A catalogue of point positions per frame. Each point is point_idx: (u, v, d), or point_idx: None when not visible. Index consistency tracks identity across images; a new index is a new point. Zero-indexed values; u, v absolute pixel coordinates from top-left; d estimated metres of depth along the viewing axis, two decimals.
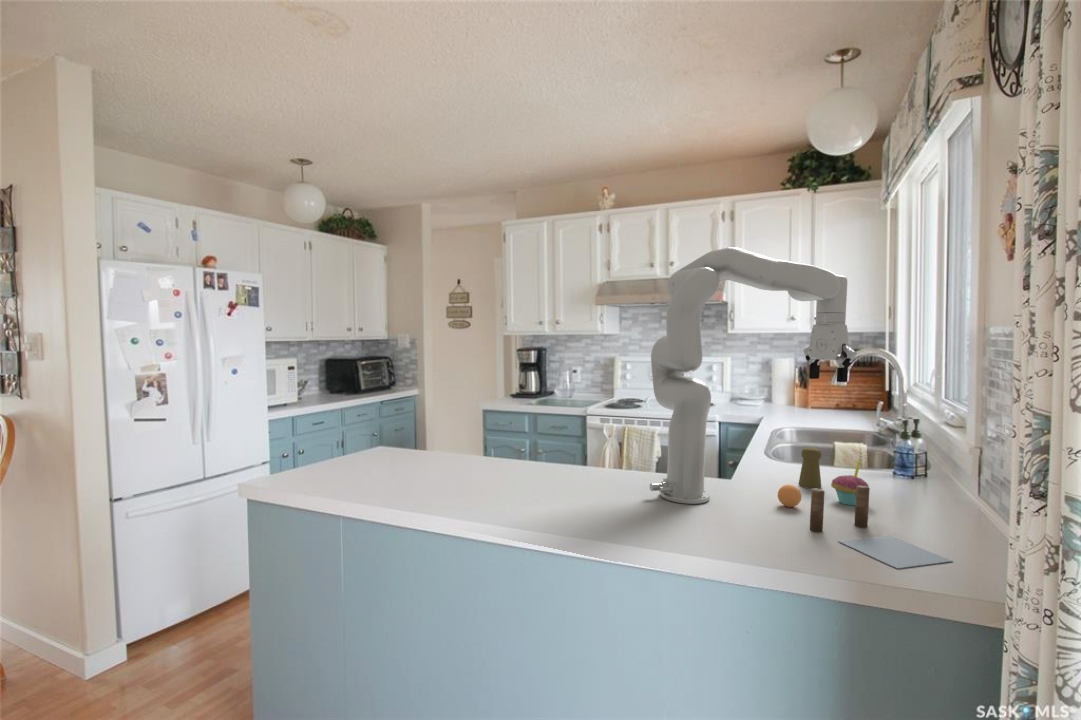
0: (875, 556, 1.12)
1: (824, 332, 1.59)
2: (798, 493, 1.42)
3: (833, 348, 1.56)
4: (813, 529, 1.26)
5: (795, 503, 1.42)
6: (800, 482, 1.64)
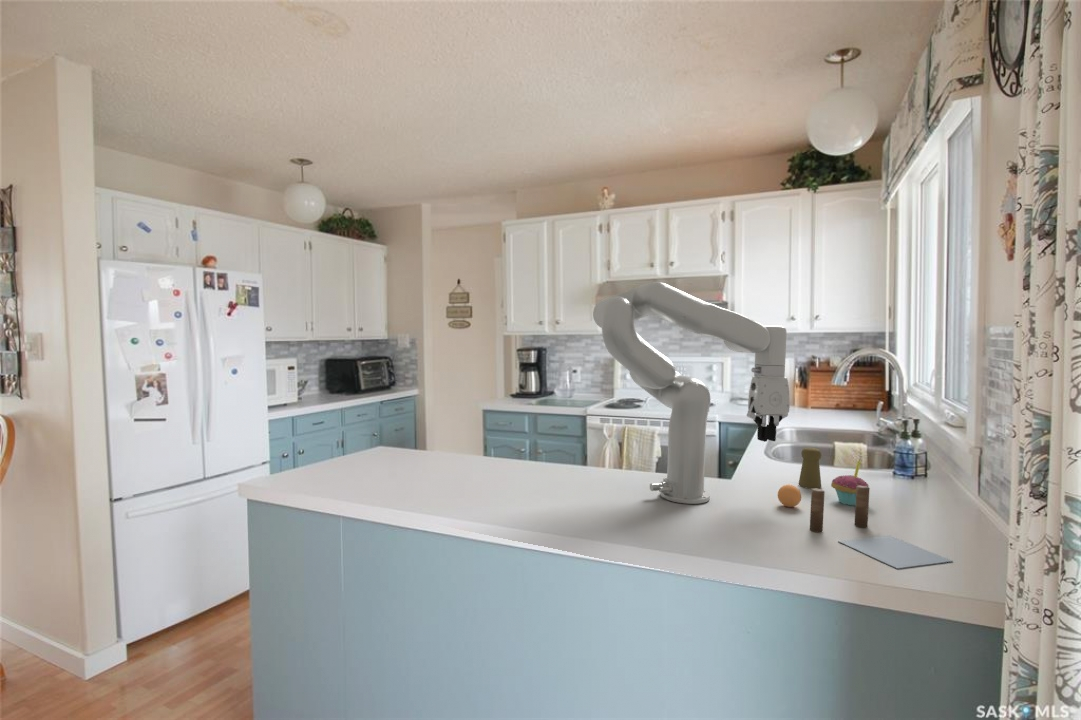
0: (875, 556, 1.12)
1: (778, 386, 1.49)
2: (798, 493, 1.42)
3: (787, 402, 1.51)
4: (813, 529, 1.26)
5: (795, 503, 1.42)
6: (800, 482, 1.64)
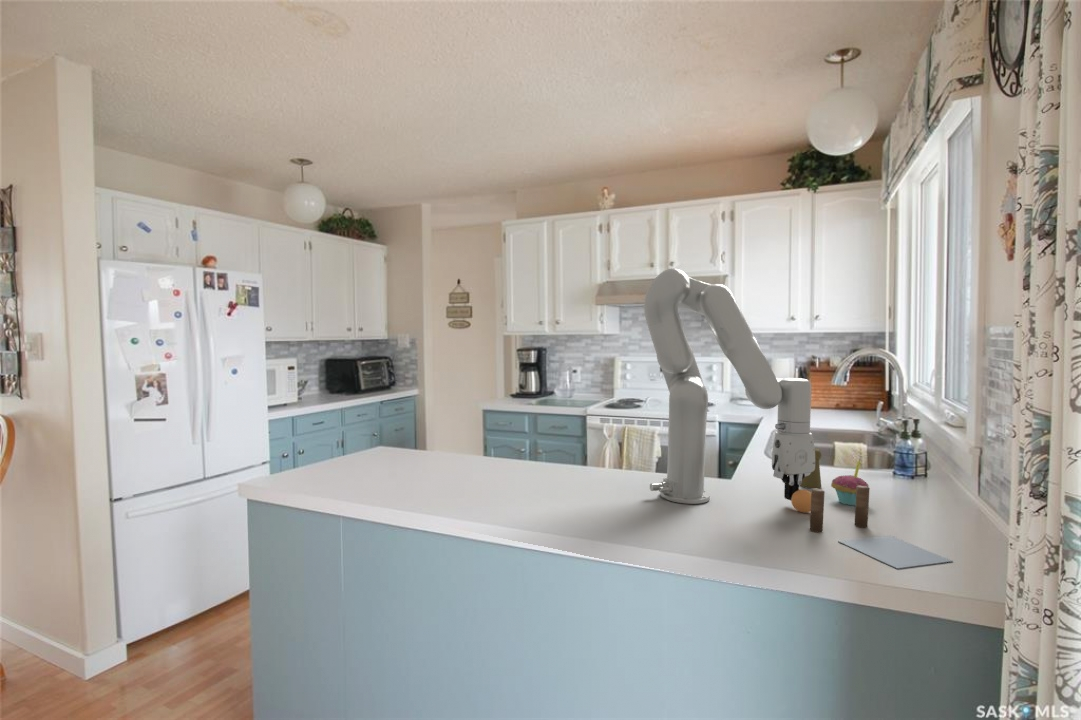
0: (875, 556, 1.12)
1: (804, 443, 1.41)
2: (809, 511, 1.39)
3: (813, 460, 1.43)
4: (813, 529, 1.26)
5: None
6: None
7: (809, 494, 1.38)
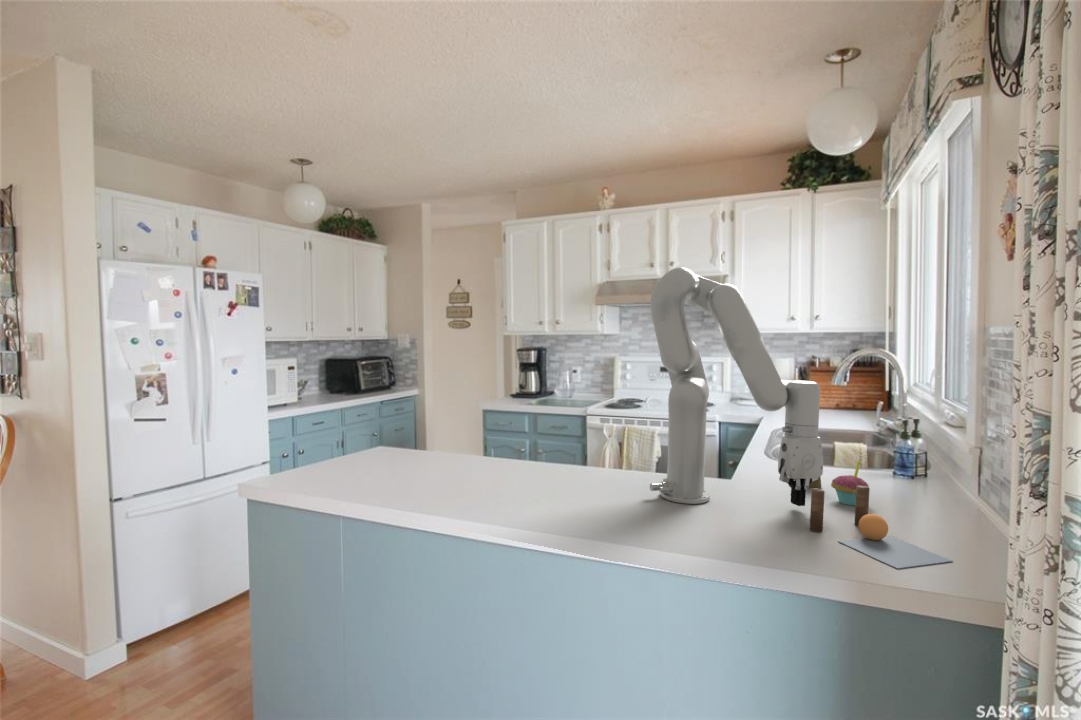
0: (875, 556, 1.12)
1: (811, 447, 1.38)
2: None
3: (821, 464, 1.40)
4: (813, 529, 1.26)
5: None
6: None
7: (884, 528, 1.20)
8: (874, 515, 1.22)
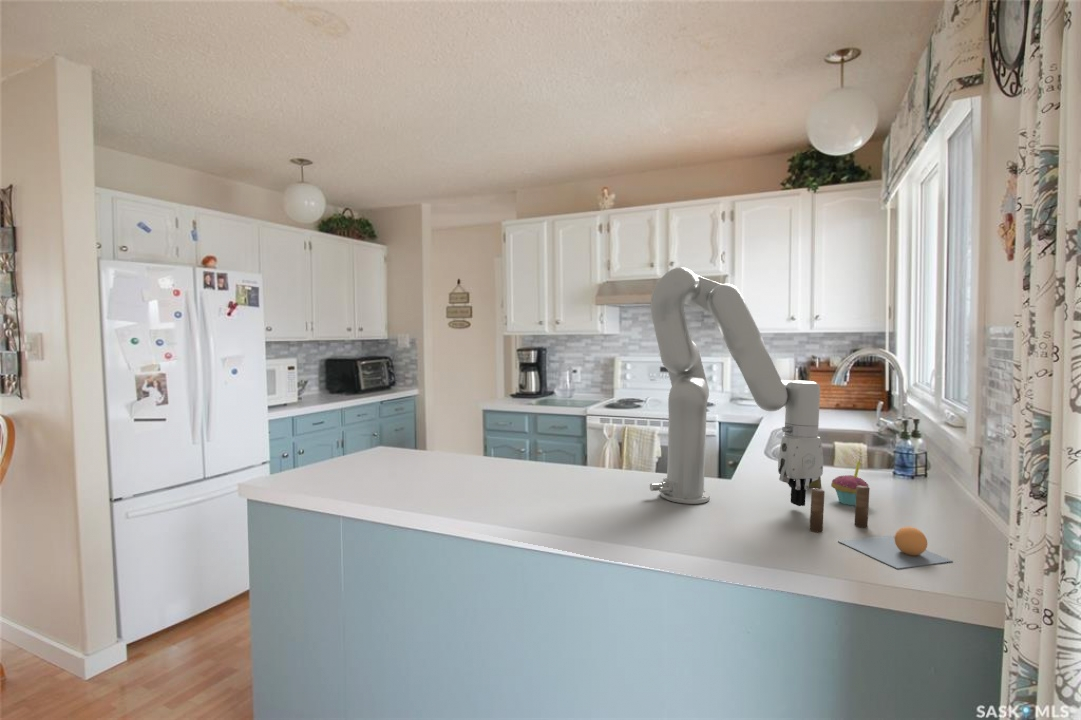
0: (875, 556, 1.12)
1: (811, 447, 1.38)
2: None
3: (821, 464, 1.40)
4: (813, 529, 1.26)
5: (920, 537, 1.12)
6: None
7: None
8: None
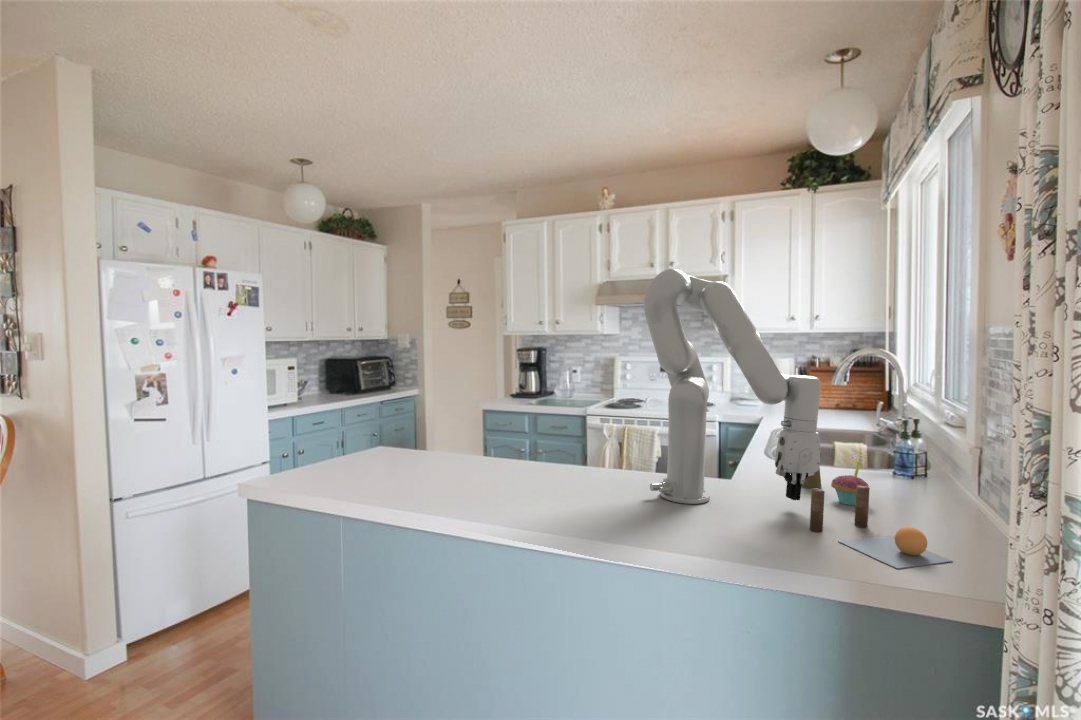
0: (875, 556, 1.12)
1: (809, 442, 1.38)
2: None
3: (818, 459, 1.40)
4: (813, 529, 1.26)
5: (920, 537, 1.12)
6: None
7: None
8: None
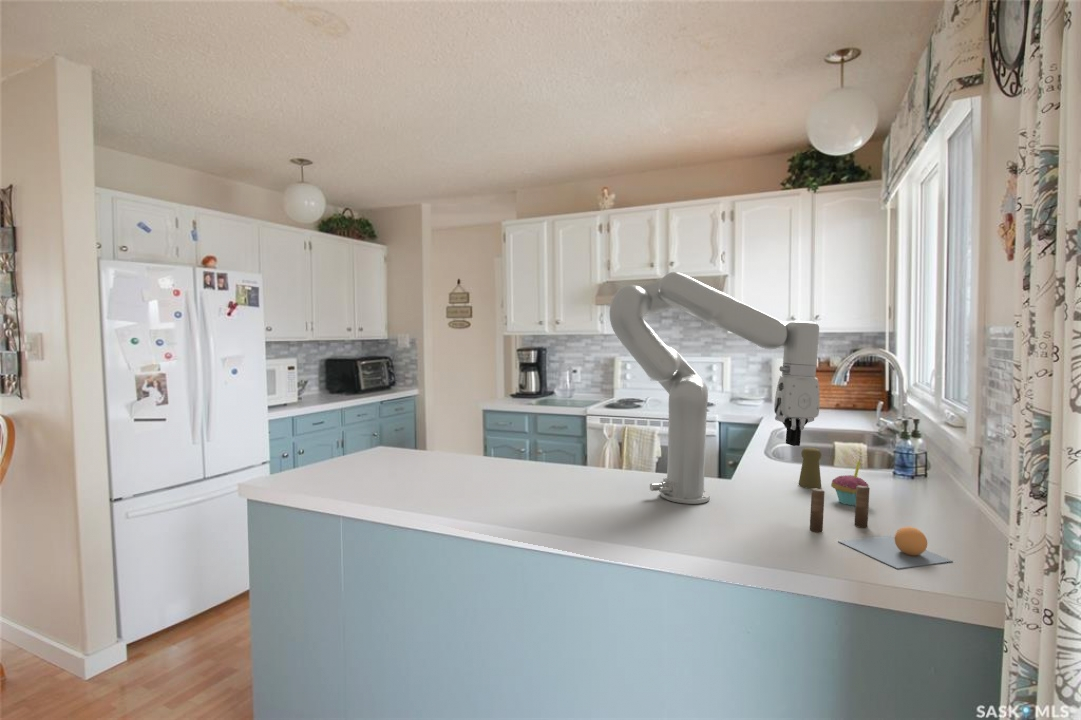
0: (875, 556, 1.12)
1: (808, 387, 1.39)
2: None
3: (817, 405, 1.40)
4: (813, 529, 1.26)
5: (920, 537, 1.12)
6: (800, 482, 1.64)
7: None
8: None
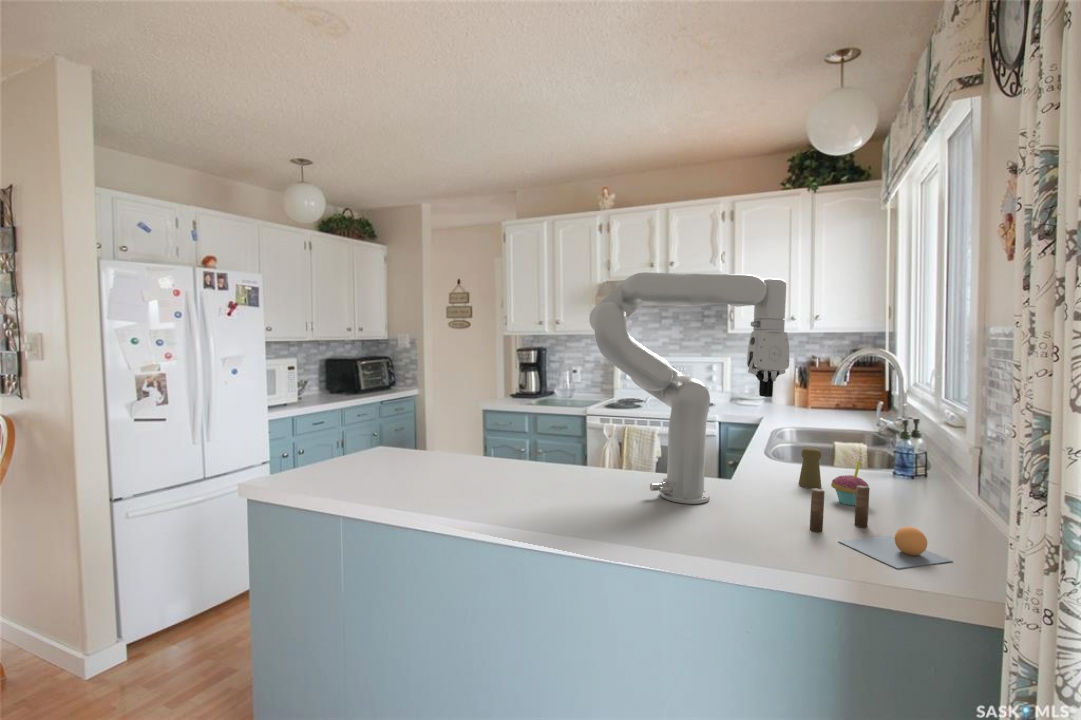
0: (875, 556, 1.12)
1: (778, 340, 1.47)
2: None
3: (787, 357, 1.48)
4: (813, 529, 1.26)
5: (920, 537, 1.12)
6: (800, 482, 1.64)
7: None
8: None
